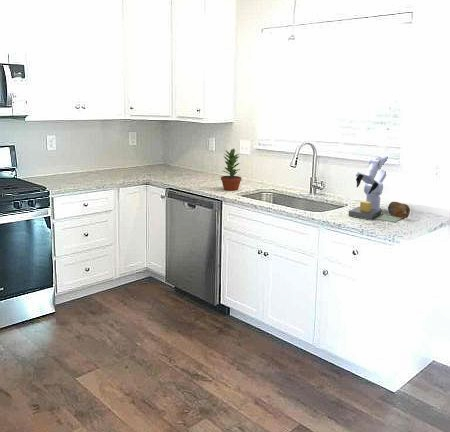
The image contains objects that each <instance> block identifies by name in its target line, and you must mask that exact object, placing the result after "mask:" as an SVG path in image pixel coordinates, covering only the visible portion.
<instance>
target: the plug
mask: <svg viewBox="0 0 450 432" xmlns="http://www.w3.org/2000/svg"><path fill="white" fill-rule="evenodd" d="M359 207H360V211H366V212H369V211H371V202H367V201H366V200H362V201H360V204H359Z"/></svg>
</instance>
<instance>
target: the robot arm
mask: <svg viewBox="0 0 450 432" xmlns="http://www.w3.org/2000/svg"><path fill="white" fill-rule="evenodd" d="M379 156H380V155H379ZM379 156H377V157H376V158H374V159H369V162H368V165H367V170H366V172H365V173H362V172H357V173H356V174H355V177H356V178H355V180H356V188H358V187H359V186H360V184H361V182H362V181H363V182H364V183H365V184H364V187H363V188H364V189H363V192H364V194H365V196H366V197H365V201H367V202H371V209H377V210H381V209H382V207H380V205H381V197H380V196H381V195H382V194H383V191H384V184H383V182H384V180H385V178H386V177H387V175H386V171H384V170H380V169H381V167H382V165H384V163H385V162H386V161H387V159H388V156H389V155H382V156H380V157H379Z"/></svg>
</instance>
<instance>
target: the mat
mask: <svg viewBox="0 0 450 432" xmlns="http://www.w3.org/2000/svg"><path fill="white" fill-rule="evenodd" d="M375 220H378V221H382V222H383V221H385V222H389V223H398V221H400V220H402V219H401V218H399V217H395V216H392V215H387V214H386V215H385V214H381V216H379V217H377V218H375Z"/></svg>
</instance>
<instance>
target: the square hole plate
mask: <svg viewBox="0 0 450 432" xmlns="http://www.w3.org/2000/svg"><path fill="white" fill-rule="evenodd" d="M381 215H382V210H381V209H379V210H377V209H371V211H369V212H366V211H360V206H356V207H354V208H351V209H349V210H348V217H354V218H359V219H364V218H365V220H370V219H371V221H372V219H373V220H374V218H377V217H379V216H381Z"/></svg>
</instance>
